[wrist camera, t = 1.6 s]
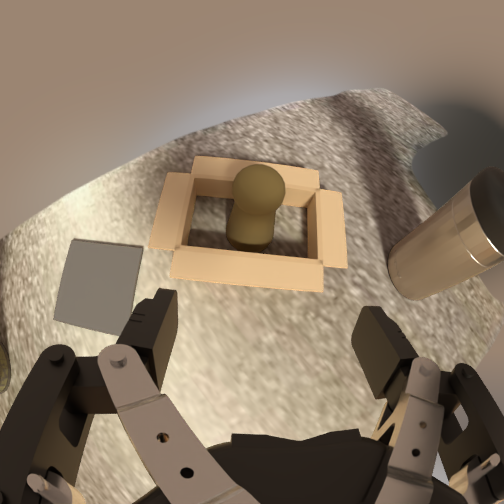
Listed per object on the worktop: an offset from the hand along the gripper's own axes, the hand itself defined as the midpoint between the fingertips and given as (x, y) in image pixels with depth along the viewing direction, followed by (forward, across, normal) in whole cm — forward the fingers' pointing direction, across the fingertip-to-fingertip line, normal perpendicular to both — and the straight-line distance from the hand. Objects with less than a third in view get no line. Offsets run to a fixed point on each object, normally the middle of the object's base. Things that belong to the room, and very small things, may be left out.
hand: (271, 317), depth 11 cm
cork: (+24, 0, +4) cm, 24 cm away
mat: (+17, +18, +11) cm, 28 cm away
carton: (+24, 0, +4) cm, 24 cm away
